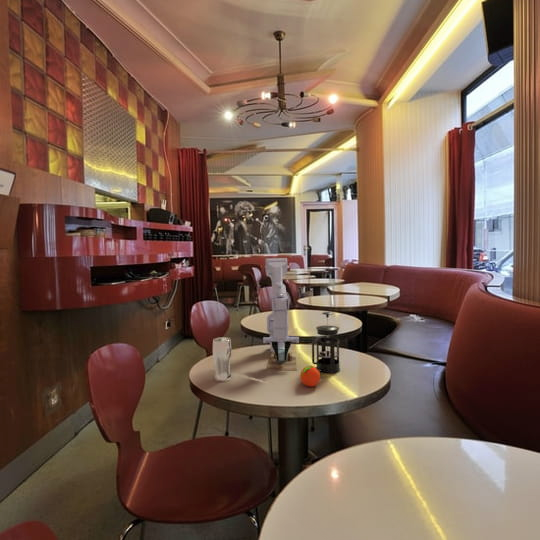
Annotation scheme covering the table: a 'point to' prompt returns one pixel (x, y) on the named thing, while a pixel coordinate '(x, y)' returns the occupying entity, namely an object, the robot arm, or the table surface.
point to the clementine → (310, 376)
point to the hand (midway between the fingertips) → (281, 360)
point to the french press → (327, 356)
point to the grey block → (281, 354)
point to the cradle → (281, 364)
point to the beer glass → (222, 358)
